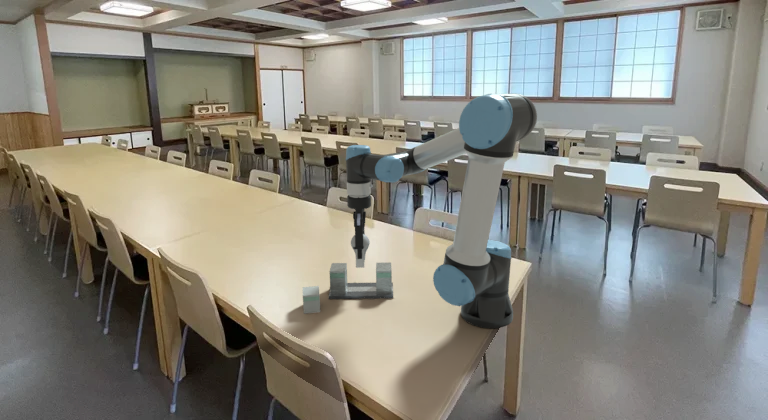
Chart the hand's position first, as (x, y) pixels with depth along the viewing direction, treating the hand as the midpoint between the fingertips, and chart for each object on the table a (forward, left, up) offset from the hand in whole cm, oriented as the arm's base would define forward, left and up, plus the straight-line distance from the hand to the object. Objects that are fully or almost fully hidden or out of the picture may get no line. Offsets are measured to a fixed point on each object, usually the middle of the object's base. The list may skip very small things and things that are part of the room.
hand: (360, 263), depth 146 cm
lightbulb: (0, 0, -1) cm, 1 cm away
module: (-11, +15, -10) cm, 21 cm away
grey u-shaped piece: (0, 0, -10) cm, 10 cm away
